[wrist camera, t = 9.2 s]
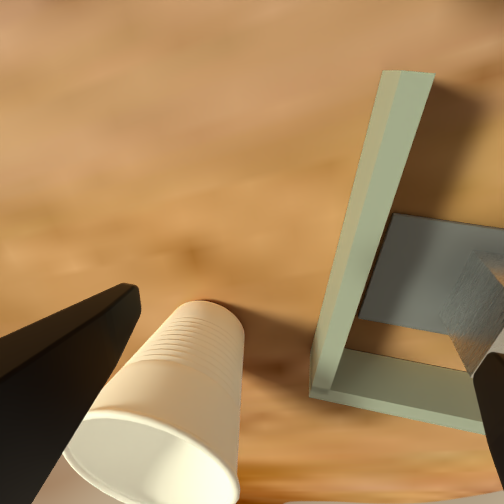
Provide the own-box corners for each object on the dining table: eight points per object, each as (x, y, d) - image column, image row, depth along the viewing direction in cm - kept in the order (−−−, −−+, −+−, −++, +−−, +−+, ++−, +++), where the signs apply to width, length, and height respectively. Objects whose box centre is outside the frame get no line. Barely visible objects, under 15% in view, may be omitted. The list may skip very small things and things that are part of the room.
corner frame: (382, 70, 15) (401, 70, 12) (778, 107, 13) (939, 120, 10) (310, 352, 25) (308, 397, 22) (529, 396, 23) (565, 452, 20)
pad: (393, 212, 18) (394, 214, 18) (601, 242, 17) (605, 245, 17) (357, 315, 22) (358, 318, 22) (524, 345, 21) (526, 349, 21)
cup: (294, 337, 25) (280, 501, 15) (215, 383, 29) (167, 531, 20) (199, 253, 22) (114, 386, 13) (130, 318, 27) (29, 450, 18)
